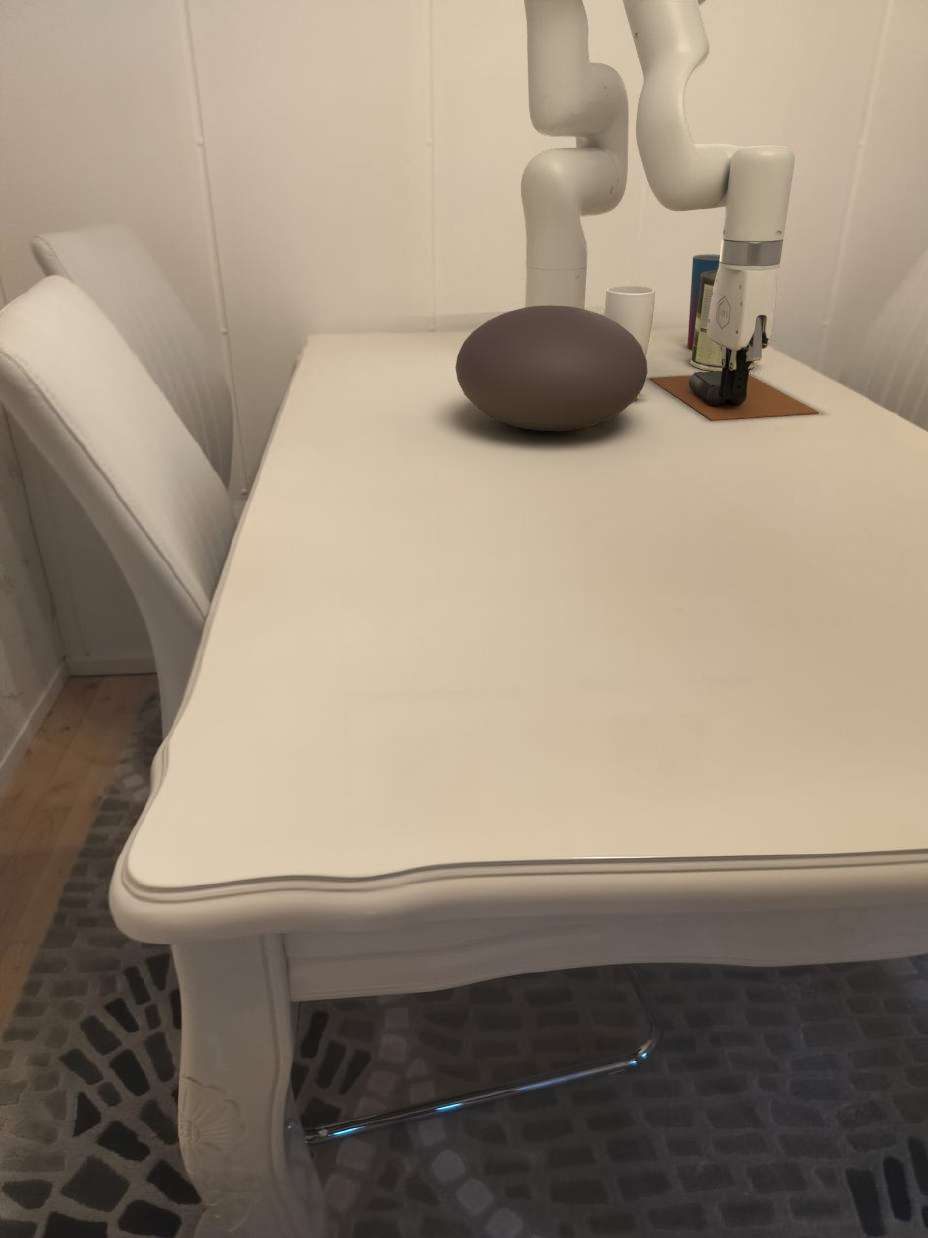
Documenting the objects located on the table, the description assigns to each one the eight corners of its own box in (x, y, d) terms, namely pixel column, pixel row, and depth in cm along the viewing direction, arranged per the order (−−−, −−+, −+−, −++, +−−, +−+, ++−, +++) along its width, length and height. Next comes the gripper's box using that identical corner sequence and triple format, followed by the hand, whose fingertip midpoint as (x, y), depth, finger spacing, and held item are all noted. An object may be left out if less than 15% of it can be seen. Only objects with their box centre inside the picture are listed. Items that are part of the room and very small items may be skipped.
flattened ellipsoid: (602, 393, 131) (611, 287, 124) (672, 447, 110) (687, 323, 103) (439, 403, 127) (438, 294, 119) (479, 461, 106) (480, 333, 98)
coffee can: (678, 359, 149) (688, 270, 142) (733, 355, 152) (745, 267, 145) (709, 374, 141) (722, 280, 134) (766, 370, 143) (781, 277, 136)
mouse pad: (710, 420, 120) (711, 419, 120) (649, 378, 138) (649, 377, 138) (818, 413, 122) (819, 411, 122) (744, 373, 141) (744, 372, 141)
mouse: (709, 409, 124) (712, 387, 122) (684, 389, 132) (687, 369, 131) (748, 407, 124) (752, 386, 123) (722, 388, 133) (725, 368, 131)
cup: (722, 353, 153) (735, 260, 146) (682, 351, 154) (693, 259, 147) (720, 344, 159) (733, 254, 152) (682, 342, 160) (692, 253, 153)
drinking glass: (648, 393, 131) (659, 286, 124) (640, 406, 126) (651, 295, 118) (602, 389, 133) (611, 284, 126) (593, 401, 128) (601, 292, 120)
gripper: (698, 249, 119) (684, 386, 128) (750, 263, 106) (731, 413, 115) (750, 247, 121) (732, 382, 129) (808, 260, 108) (784, 409, 117)
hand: (732, 396), depth 122 cm, fingers closed
